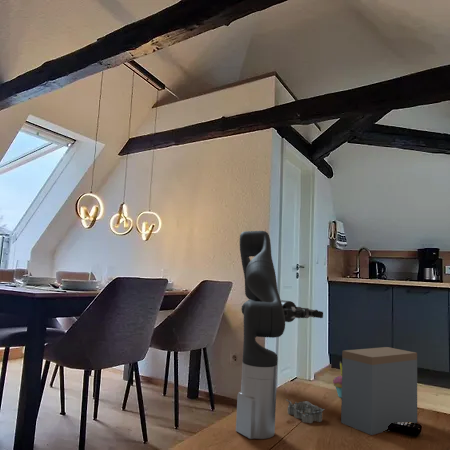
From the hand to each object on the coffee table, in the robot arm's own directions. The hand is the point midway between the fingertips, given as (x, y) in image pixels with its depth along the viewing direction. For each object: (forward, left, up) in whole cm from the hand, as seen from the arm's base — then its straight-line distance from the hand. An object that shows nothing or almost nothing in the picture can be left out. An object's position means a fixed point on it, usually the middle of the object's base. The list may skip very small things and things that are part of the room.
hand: (313, 314), depth 135 cm
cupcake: (+17, 0, -29) cm, 34 cm away
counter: (+5, -22, -28) cm, 36 cm away
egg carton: (-11, -8, -29) cm, 32 cm away
